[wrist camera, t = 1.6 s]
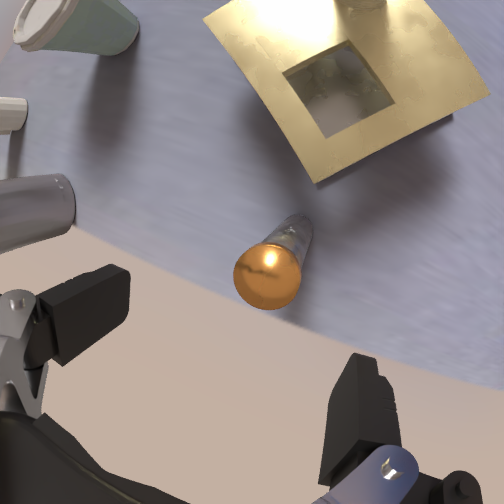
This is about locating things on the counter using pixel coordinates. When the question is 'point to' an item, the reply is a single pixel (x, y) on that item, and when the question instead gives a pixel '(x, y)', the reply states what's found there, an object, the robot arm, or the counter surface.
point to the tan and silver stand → (347, 72)
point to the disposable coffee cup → (75, 26)
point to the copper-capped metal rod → (274, 265)
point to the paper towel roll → (12, 114)
